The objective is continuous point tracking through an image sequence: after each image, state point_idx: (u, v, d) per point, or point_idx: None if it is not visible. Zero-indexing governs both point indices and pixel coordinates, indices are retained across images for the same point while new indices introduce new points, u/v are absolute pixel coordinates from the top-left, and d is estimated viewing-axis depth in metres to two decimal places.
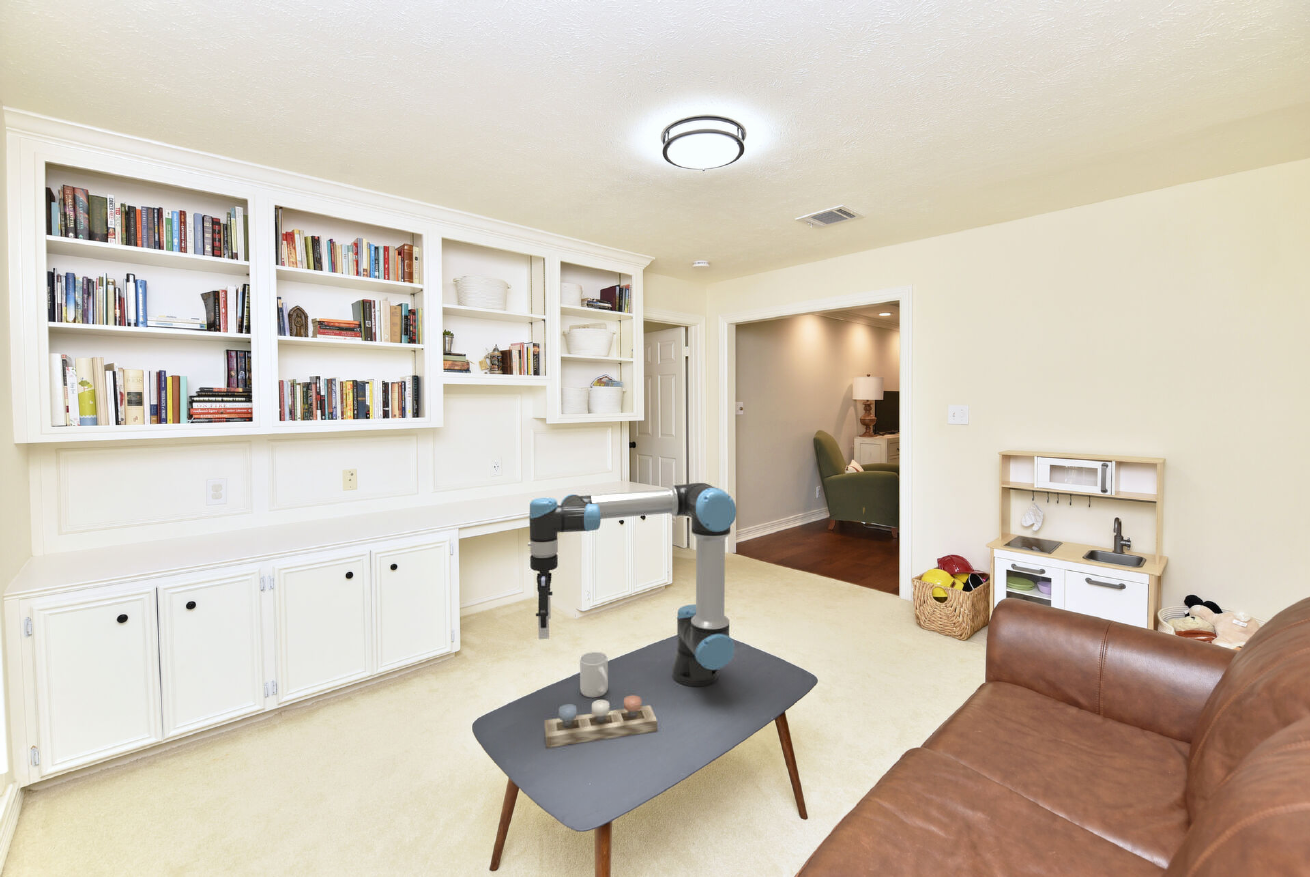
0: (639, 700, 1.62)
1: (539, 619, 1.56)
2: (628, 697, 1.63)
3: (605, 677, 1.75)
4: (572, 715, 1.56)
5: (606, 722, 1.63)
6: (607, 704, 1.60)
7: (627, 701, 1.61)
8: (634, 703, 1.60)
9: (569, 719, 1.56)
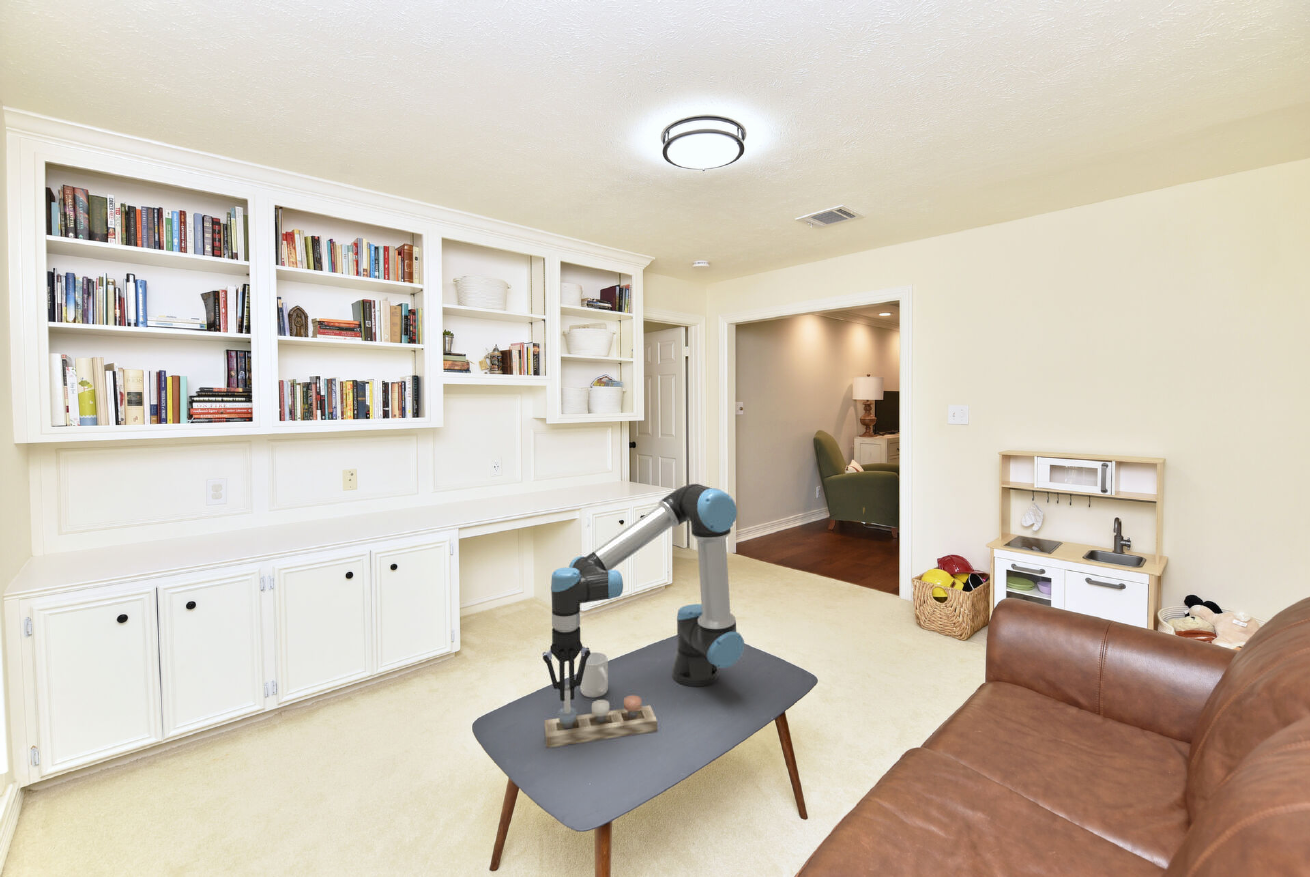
0: (639, 700, 1.62)
1: None
2: (628, 697, 1.63)
3: (605, 677, 1.75)
4: (572, 718, 1.56)
5: (606, 722, 1.63)
6: (607, 704, 1.60)
7: (627, 701, 1.61)
8: (634, 703, 1.60)
9: (569, 722, 1.56)
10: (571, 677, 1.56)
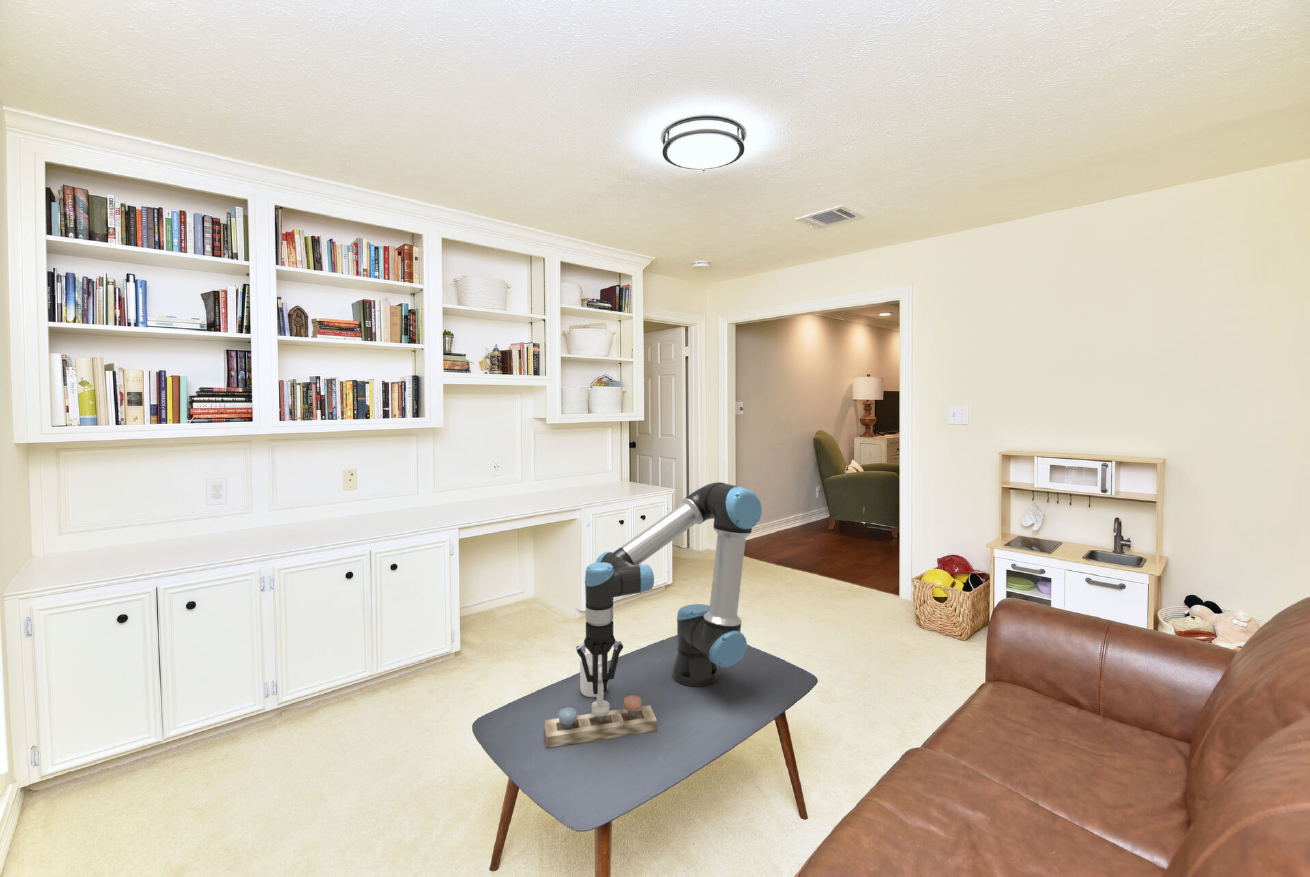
0: (639, 700, 1.62)
1: None
2: (628, 697, 1.63)
3: None
4: (572, 719, 1.56)
5: (606, 722, 1.63)
6: (607, 704, 1.60)
7: (627, 701, 1.61)
8: (634, 703, 1.60)
9: (569, 723, 1.56)
10: (604, 670, 1.58)
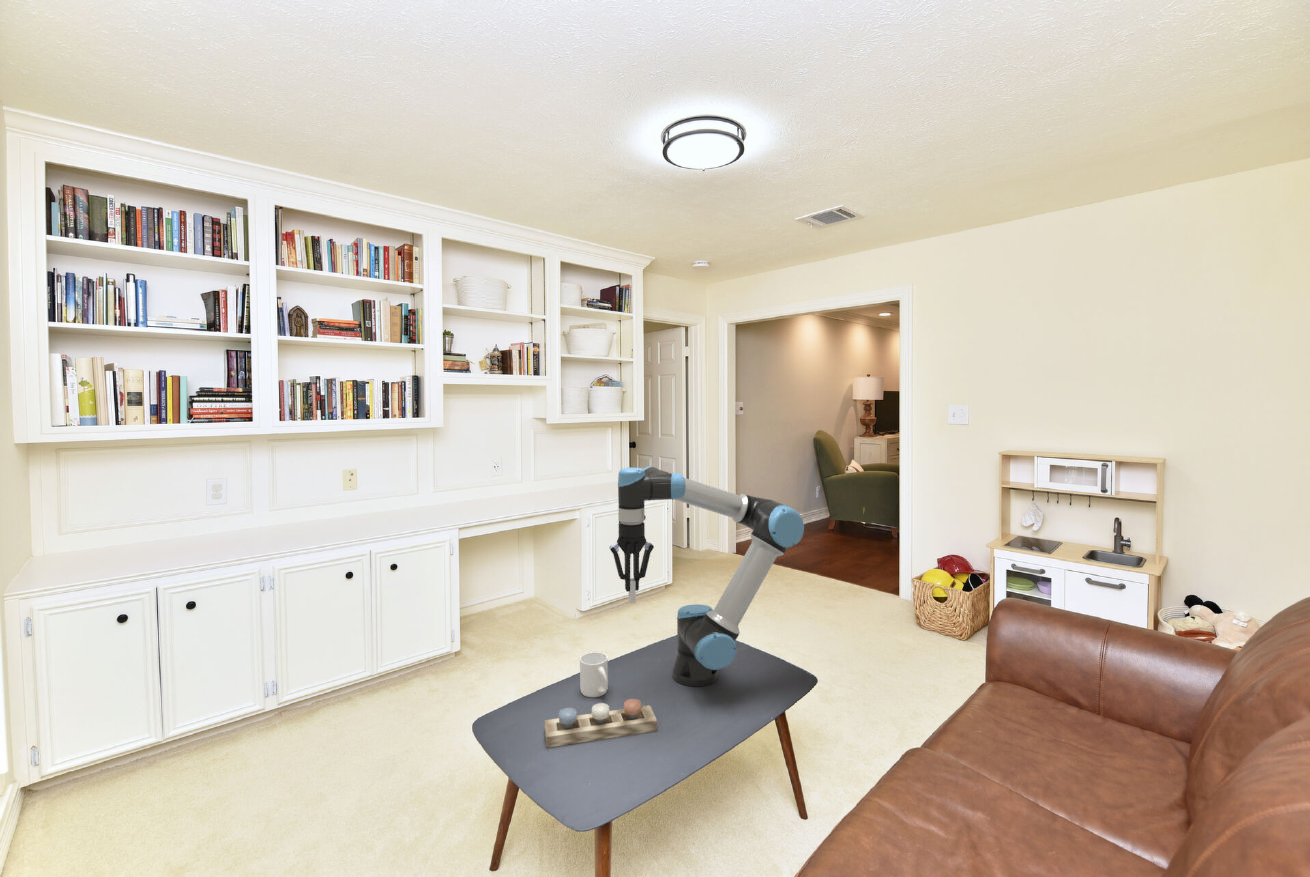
0: (639, 703, 1.62)
1: None
2: (628, 700, 1.64)
3: (605, 677, 1.75)
4: (572, 719, 1.56)
5: (606, 722, 1.63)
6: (607, 707, 1.60)
7: (627, 705, 1.61)
8: (634, 707, 1.60)
9: (569, 723, 1.56)
10: (636, 568, 1.68)
